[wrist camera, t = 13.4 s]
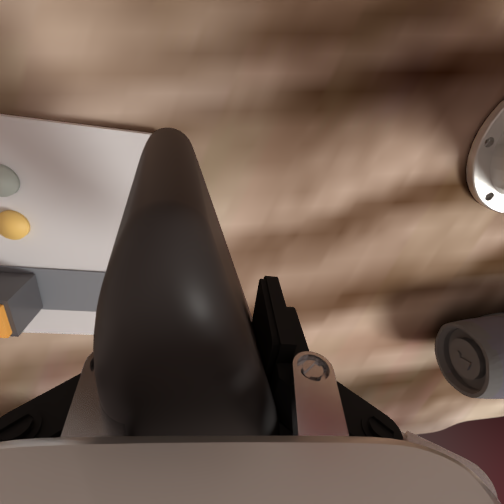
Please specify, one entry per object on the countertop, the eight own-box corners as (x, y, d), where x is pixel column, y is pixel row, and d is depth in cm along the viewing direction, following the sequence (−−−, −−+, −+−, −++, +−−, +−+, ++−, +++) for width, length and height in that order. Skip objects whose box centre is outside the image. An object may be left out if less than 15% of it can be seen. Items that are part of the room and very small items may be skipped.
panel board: (165, 134, 25) (157, 140, 22) (165, 331, 35) (160, 353, 32) (-79, 103, 22) (-127, 105, 19) (-2, 324, 32) (-25, 349, 29)
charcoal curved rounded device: (72, 148, 12) (-123, 332, 4) (184, 114, 12) (209, 224, 4) (204, 372, 21) (223, 553, 13) (265, 351, 21) (318, 517, 14)
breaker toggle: (35, 274, 28) (2, 305, 24) (43, 306, 30) (14, 341, 26) (-11, 271, 28) (-53, 303, 24) (0, 305, 30) (-37, 339, 25)
